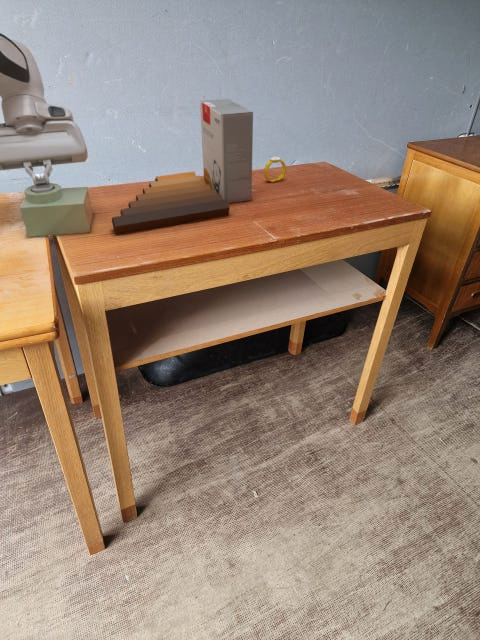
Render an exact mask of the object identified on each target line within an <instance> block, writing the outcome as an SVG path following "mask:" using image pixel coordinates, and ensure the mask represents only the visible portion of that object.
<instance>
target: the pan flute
mask: <svg viewBox="0 0 480 640" xmlns="http://www.w3.org/2000/svg"><path fill="white" fill-rule="evenodd" d="M127 205H128V207H126V208H121V209H120V215H118V216H112V217H111V222H112V227H113V231H114V233H115V236H117V235H123V234H130V233H135V232H142V231H147V230H152V229H157V228H158V229H159V228H165V227H169V226H176V225H180V224H188V223H193V222H198V221H205V220H210V219H216V218H221V217H228V216H229V215H230V208H231V207H230V203H228V202H227V199H224V200H223V199H222V197H221V194H216V191H215V189H211V188H210V185H209V184H207V185H206V184H205V181H204V179H201V177H200V175H196V172H195V171H186V172H181V173H179V172H178V173H172V174H165V175H164V174H163V175H157V176H155V178H154V181H150V182H149V184H148V187H143V189H142V193H138V194H136V196H135V200H130V201H128V204H127Z"/></svg>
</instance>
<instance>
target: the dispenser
mask: <svg viewBox="0 0 480 640" xmlns="http://www.w3.org/2000/svg"><path fill="white" fill-rule="evenodd" d="M50 184H51V185H53V190H51V191H49V192H44V193H34V192H33V191H32V187H33V186H35V185H34V184H32V185H30V186H28V187H26V188H25V189H24V191H23V193H24V196H25V197H24V199H23V201H22V203H21V205H20V206H19V211H20V214H21V217H22V221H23V224H24V228H25V231H26V234H27V237H28V238H34V237H35V238H36V237H47V236H48V237H49V236H61V235H62V236H63V235H73V234H74V235H75V234H85V233H90V231H91V228H92V227H91V226H92V221H93V216H94V212H93V207H92V203H91V197H90V192H89V188H88V186H80V187H79V186H78V187H62V186H61V185H60V184H58V183H52V182H50Z"/></svg>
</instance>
